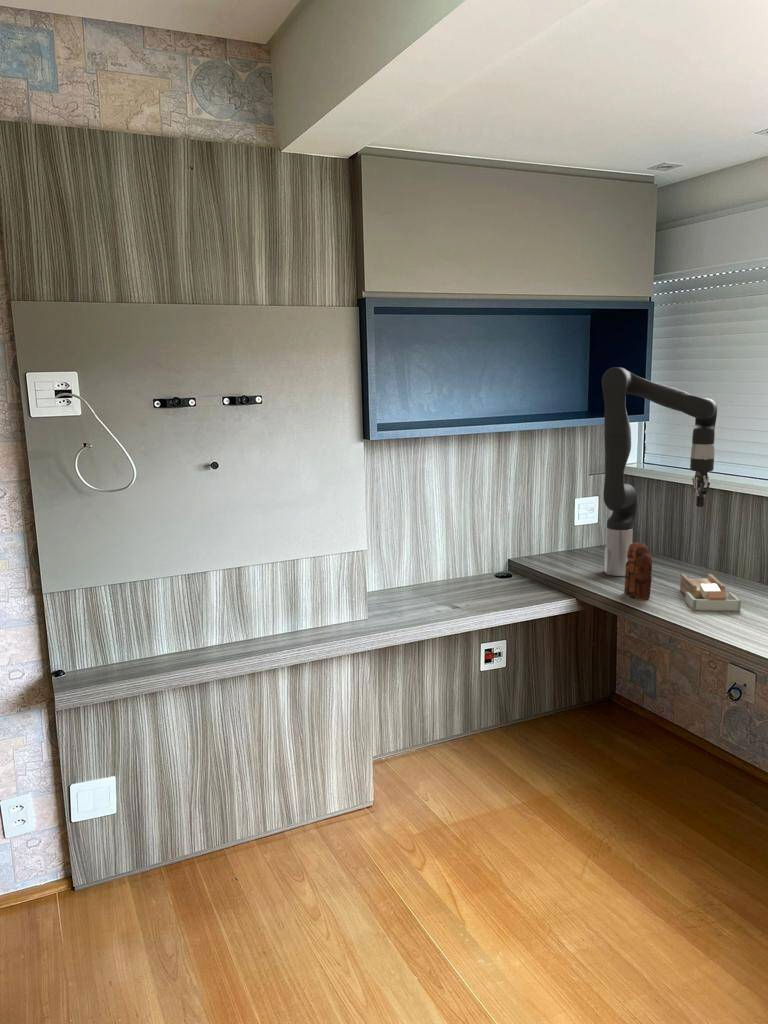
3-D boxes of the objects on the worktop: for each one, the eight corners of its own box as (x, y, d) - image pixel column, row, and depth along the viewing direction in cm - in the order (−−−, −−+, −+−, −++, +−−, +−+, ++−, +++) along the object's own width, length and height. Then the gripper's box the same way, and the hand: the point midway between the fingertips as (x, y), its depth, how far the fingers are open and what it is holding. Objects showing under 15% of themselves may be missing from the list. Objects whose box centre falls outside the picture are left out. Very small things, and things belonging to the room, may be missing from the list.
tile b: (704, 600, 244) (706, 606, 242) (708, 591, 240) (710, 597, 239) (720, 600, 244) (722, 606, 242) (724, 591, 240) (726, 597, 238)
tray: (693, 610, 240) (693, 600, 239) (685, 602, 249) (686, 591, 248) (740, 611, 238) (740, 600, 238) (730, 603, 247) (731, 592, 246)
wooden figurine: (618, 591, 262) (620, 540, 259) (635, 590, 264) (637, 538, 261) (637, 601, 251) (640, 547, 248) (655, 599, 252) (657, 546, 249)
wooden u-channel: (691, 602, 249) (692, 585, 248) (680, 589, 263) (680, 573, 262) (724, 603, 247) (725, 586, 246) (710, 590, 262) (711, 574, 261)
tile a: (703, 598, 243) (704, 591, 242) (699, 590, 248) (700, 583, 247) (720, 597, 243) (720, 591, 242) (715, 590, 247) (716, 583, 246)
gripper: (685, 454, 272) (683, 503, 275) (696, 459, 259) (693, 509, 262) (708, 454, 271) (705, 503, 274) (719, 458, 258) (716, 509, 261)
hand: (699, 506), depth 268 cm, fingers closed
